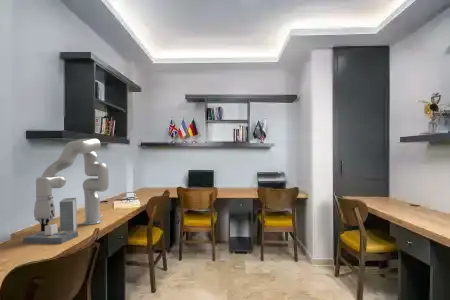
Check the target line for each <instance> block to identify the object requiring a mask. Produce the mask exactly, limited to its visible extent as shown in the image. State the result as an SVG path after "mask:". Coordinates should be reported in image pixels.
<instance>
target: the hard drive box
mask: <svg viewBox="0 0 450 300" xmlns="http://www.w3.org/2000/svg"><path fill="white" fill-rule="evenodd" d="M77 228H78V214H77V197H69V198H68V197H67V198H63V199H62V200H60V201H59V231H77Z"/></svg>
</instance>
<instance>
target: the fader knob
mask: <svg viewBox="0 0 450 300" xmlns="http://www.w3.org/2000/svg"><path fill="white" fill-rule="evenodd" d="M58 228H59V226H58V223H55V222H54V223H51V224H49V223H48V225H46V226H45V235H53V234H55V233H58V231H59V229H58Z"/></svg>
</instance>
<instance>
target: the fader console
mask: <svg viewBox="0 0 450 300" xmlns="http://www.w3.org/2000/svg"><path fill="white" fill-rule="evenodd" d="M78 237H79V231H78V230H75V231H60V230H58V233H55V234H53V235H45V231H41V230H40V231H38V232H35V233H33V234H30V235H27V236H24V237H23V238H22V239H23V240H22V243H23V244H64V243H66V242H68V241H70V240H73V239H76V238H78Z"/></svg>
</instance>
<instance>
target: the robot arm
mask: <svg viewBox="0 0 450 300" xmlns="http://www.w3.org/2000/svg"><path fill="white" fill-rule="evenodd" d="M101 144H102V143H101V141H100V140H99V139H98V138H80V139H77V140H71V141H69V142H67V143H66V144H65V147H64V148H63V150H62V152H61V154H60V155H59V157H58V159H57V160H55V161H54V162H53V163H52V164H50V165H49V166H47V167H46V169H45V170H44V171H43V173H42V175H41V176H40V177H36V180H35V203H34V210H33V216H34V220H35V221H37V222H39V224H40V232H41V231H45V226H46V225H49V223H50V221H54V217H55V216H56V208H55V203H54V200H53V199H54V197H53V196H52V189H61V188H63V187H64V186H65V185H66V178H65V177H63V176H61V175H57V174H58V173H59V172H61V171H63V170H66V169H68V168H70V167H71V166H73V164H74V162H75V160H76V158H77V156H78V155H79V154H80V155H83V160H84V174H85V175H86V176H87V177H90V178H86V179H85V180H83V183H82V190H83V194H84V221H82V225H84V226H87V225H89V226H90V225H91V226H92V225H97V224H101V223H103V220H102V219H101V218H103V215H102V214H100V195H99V193H102V192H106V191H107V190H108V189H109V185H110V184H109V183H110V182H109V177H110V176H109V167H108V166H107V164H106V163H104V162H98V155H97V153H96V151H98V150H100V148H101V146H102V145H101ZM92 177H93V178H92ZM96 177H97V178H96ZM98 192H99V193H98Z"/></svg>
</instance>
